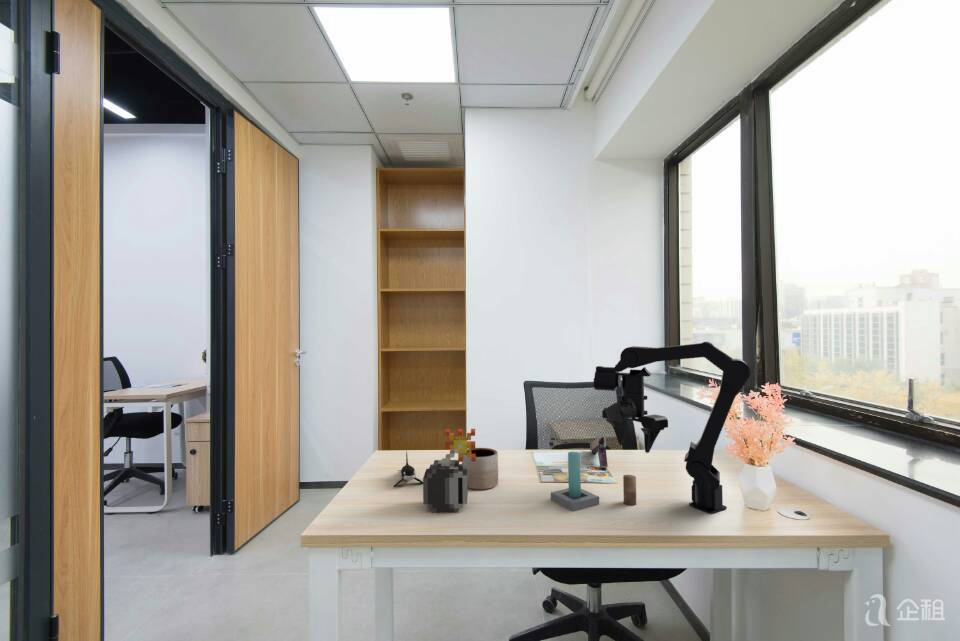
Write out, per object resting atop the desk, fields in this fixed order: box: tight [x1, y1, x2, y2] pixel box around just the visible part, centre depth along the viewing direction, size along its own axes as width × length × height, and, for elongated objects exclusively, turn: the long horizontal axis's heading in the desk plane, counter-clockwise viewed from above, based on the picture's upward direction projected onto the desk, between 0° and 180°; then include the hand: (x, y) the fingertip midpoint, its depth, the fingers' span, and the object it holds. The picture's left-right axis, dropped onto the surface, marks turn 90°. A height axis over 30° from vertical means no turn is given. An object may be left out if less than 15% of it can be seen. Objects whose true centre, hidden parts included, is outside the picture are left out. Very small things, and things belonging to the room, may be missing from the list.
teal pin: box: [567, 451, 582, 500], centre depth 122 cm, size 3×3×13 cm
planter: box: [461, 447, 499, 491], centre depth 137 cm, size 11×11×10 cm
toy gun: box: [589, 435, 609, 469], centre depth 160 cm, size 2×21×10 cm, turn 175°
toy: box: [392, 451, 423, 488], centre depth 143 cm, size 21×10×10 cm, turn 15°
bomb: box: [422, 428, 476, 514], centre depth 120 cm, size 8×13×20 cm, turn 90°
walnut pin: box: [622, 474, 637, 507], centre depth 121 cm, size 3×3×7 cm
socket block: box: [550, 487, 600, 512], centre depth 122 cm, size 9×9×2 cm
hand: (633, 448), depth 126 cm, fingers open, 9 cm apart
